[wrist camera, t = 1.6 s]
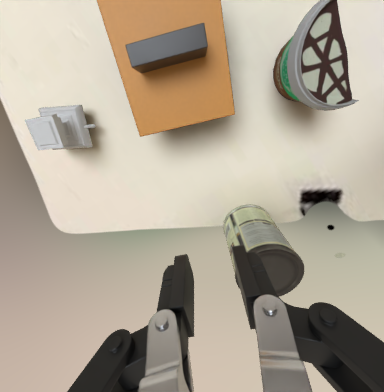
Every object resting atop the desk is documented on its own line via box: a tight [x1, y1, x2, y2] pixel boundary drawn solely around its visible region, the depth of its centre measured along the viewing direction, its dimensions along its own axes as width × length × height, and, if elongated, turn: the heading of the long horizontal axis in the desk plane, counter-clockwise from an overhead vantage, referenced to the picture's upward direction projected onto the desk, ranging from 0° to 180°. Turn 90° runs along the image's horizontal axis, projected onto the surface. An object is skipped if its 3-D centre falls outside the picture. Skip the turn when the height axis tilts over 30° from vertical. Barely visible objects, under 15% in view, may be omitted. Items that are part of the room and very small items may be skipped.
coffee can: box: [223, 205, 304, 297], centre depth 36 cm, size 10×10×14 cm
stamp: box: [25, 105, 96, 150], centre depth 31 cm, size 9×7×8 cm
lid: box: [97, 0, 235, 137], centre depth 22 cm, size 16×13×5 cm
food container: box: [273, 0, 359, 111], centre depth 27 cm, size 12×6×10 cm, turn 26°
